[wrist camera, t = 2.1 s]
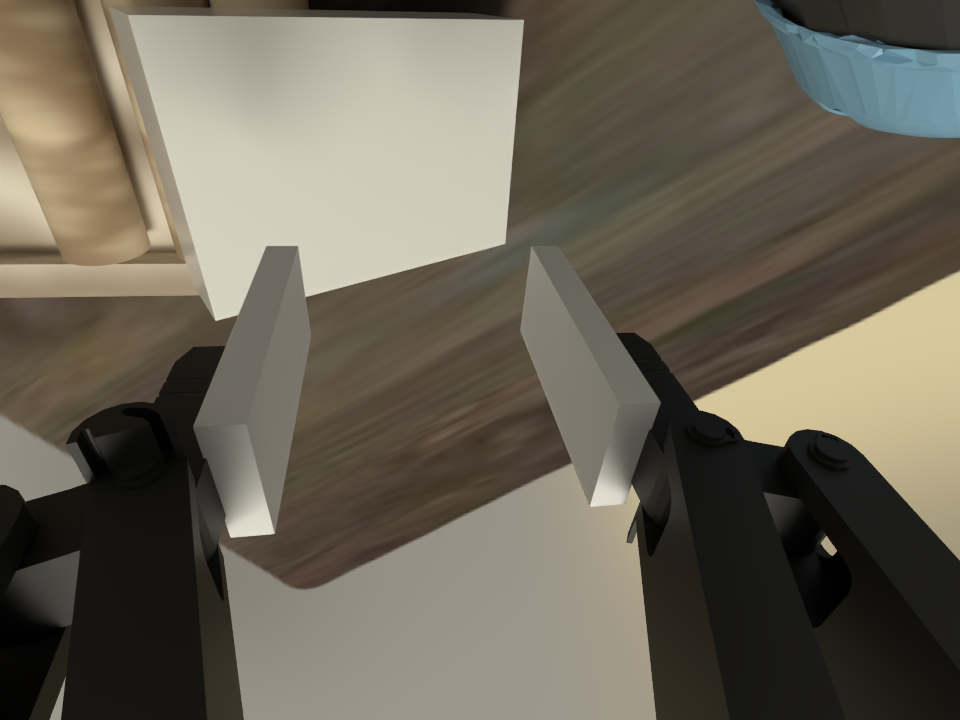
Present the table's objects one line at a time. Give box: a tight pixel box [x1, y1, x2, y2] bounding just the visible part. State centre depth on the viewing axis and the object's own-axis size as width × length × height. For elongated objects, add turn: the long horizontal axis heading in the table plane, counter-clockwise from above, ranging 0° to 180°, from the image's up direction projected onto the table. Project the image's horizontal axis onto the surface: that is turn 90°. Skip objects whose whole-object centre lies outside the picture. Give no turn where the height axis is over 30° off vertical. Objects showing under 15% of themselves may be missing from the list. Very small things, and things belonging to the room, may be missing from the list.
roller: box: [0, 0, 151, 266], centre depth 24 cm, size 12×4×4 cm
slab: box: [108, 6, 524, 321], centre depth 25 cm, size 11×16×4 cm
